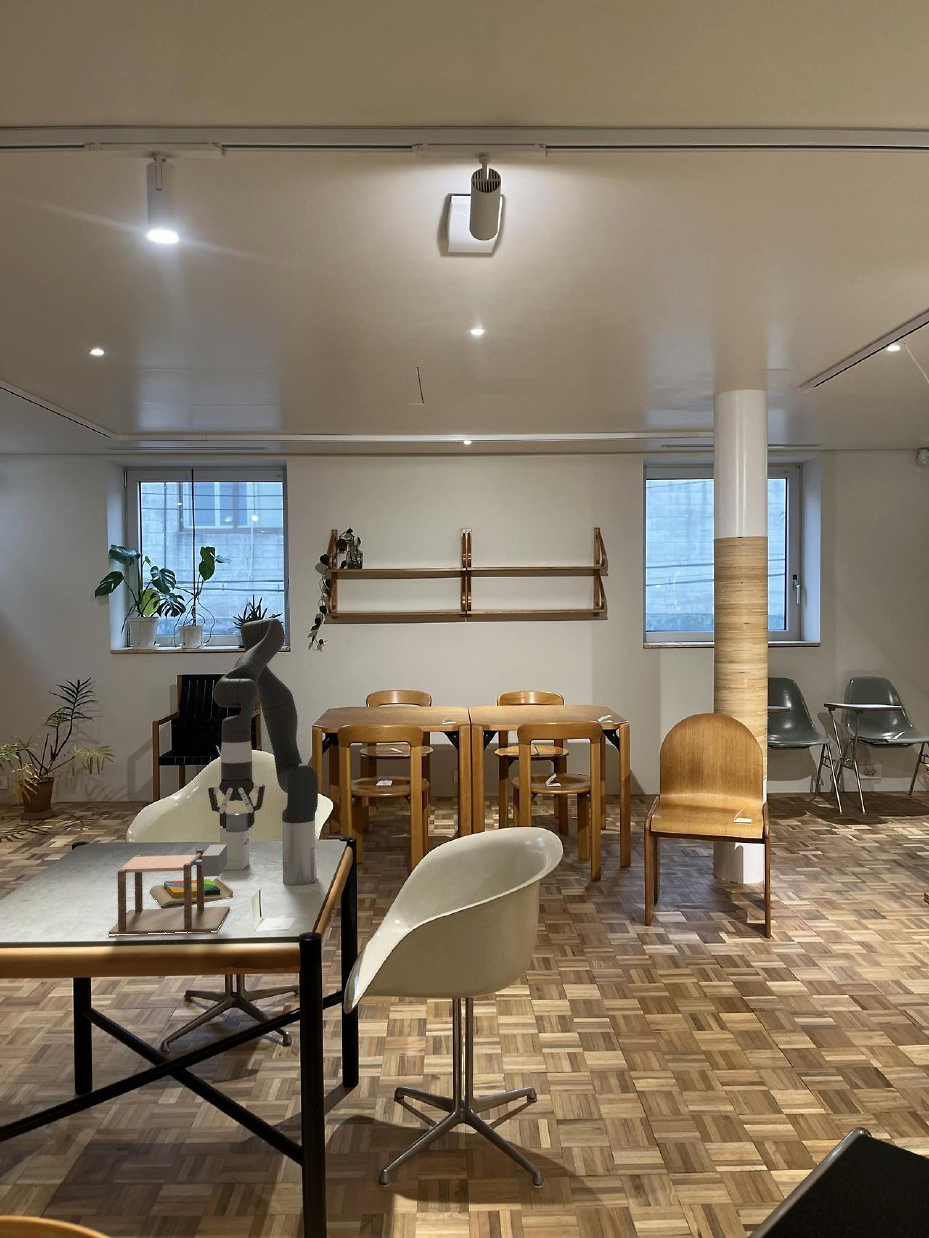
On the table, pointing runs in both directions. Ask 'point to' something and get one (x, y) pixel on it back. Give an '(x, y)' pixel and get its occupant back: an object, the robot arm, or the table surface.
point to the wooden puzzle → (175, 891)
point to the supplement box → (235, 848)
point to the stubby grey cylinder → (237, 821)
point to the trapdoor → (182, 862)
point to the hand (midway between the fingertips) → (237, 827)
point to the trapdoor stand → (167, 918)
